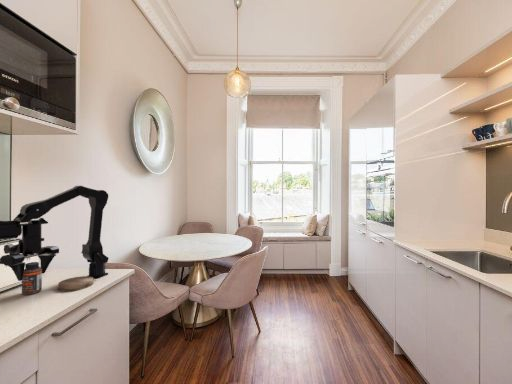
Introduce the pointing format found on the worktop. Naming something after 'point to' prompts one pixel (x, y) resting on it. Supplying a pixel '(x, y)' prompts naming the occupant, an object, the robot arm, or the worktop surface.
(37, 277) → the supplement bottle
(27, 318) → the worktop surface
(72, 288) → the walnut plinth
